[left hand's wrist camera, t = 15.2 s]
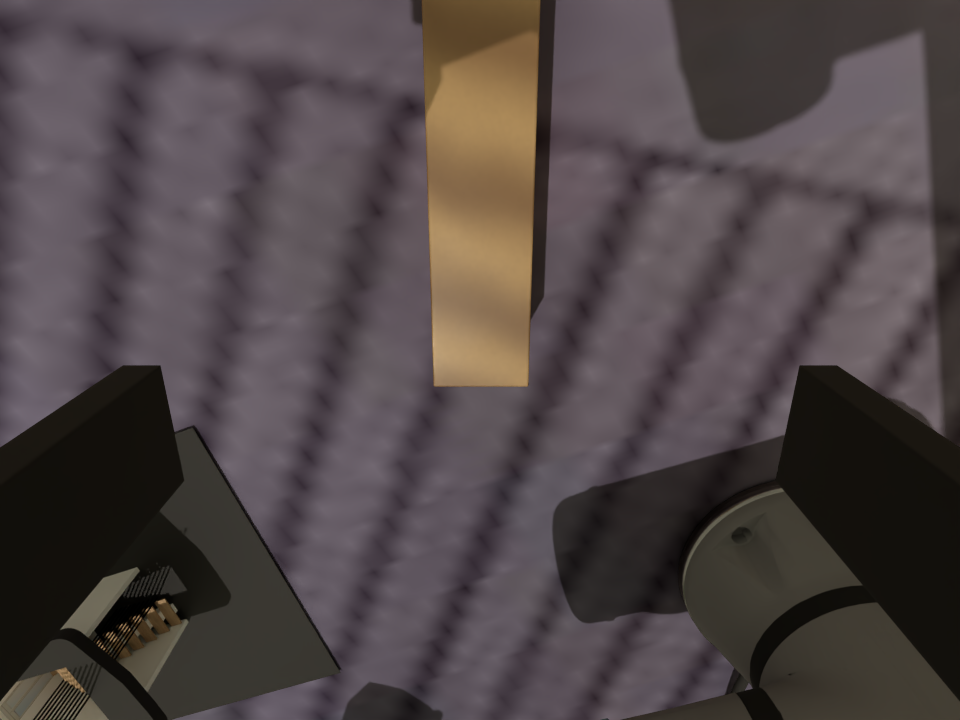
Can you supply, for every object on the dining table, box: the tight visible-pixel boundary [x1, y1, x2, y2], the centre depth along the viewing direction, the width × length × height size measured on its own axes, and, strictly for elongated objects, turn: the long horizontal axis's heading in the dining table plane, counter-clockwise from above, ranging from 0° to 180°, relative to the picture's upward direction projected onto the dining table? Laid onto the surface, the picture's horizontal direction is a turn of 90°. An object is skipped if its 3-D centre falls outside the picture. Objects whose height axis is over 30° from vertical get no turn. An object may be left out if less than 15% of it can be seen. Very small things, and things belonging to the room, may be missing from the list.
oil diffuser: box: [0, 428, 340, 720], centre depth 38 cm, size 26×24×17 cm
